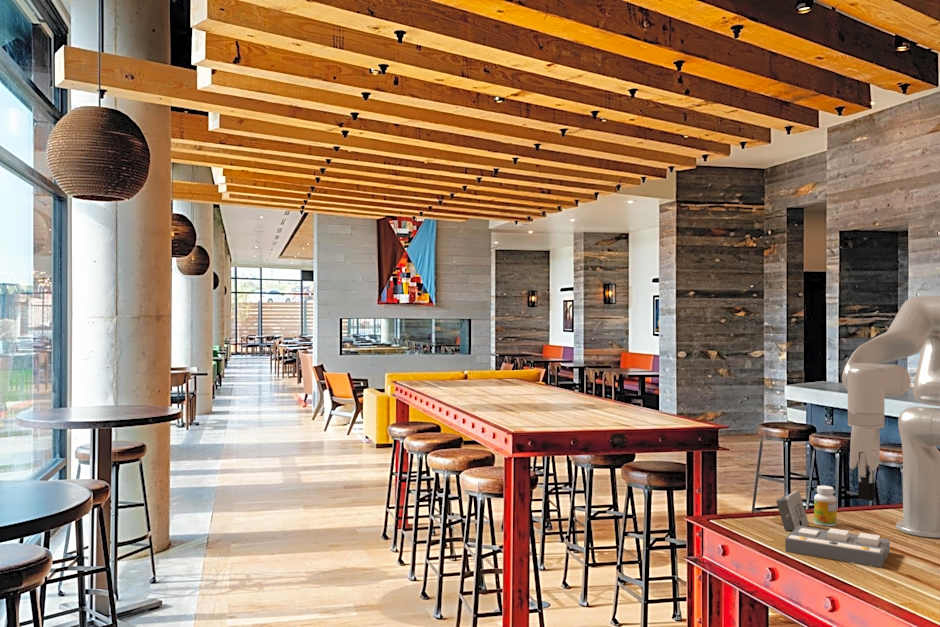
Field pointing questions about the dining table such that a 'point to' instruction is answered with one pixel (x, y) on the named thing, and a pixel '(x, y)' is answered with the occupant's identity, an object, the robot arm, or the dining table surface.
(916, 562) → the dining table surface
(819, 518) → the supplement bottle
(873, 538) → the right button
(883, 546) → the switch panel
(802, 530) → the left button
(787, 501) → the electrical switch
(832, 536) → the middle button
